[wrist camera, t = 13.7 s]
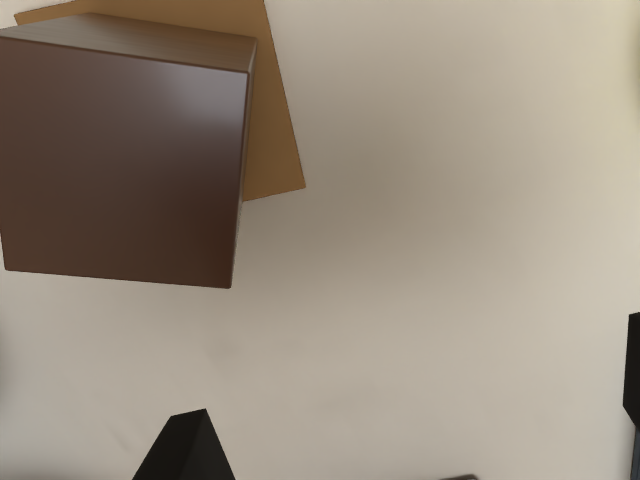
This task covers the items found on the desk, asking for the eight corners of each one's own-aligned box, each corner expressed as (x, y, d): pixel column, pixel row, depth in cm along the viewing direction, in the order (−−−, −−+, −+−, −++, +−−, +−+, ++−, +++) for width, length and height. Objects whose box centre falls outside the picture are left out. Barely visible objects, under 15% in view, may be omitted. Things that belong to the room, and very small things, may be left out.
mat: (109, 227, 17) (106, 231, 17) (17, 14, 14) (12, 14, 14) (305, 184, 17) (305, 188, 17) (254, -40, 14) (254, -40, 14)
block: (244, 188, 16) (231, 290, 11) (93, 172, 16) (4, 271, 11) (258, 37, 15) (250, 71, 9) (87, 11, 14) (-26, 32, 9)
